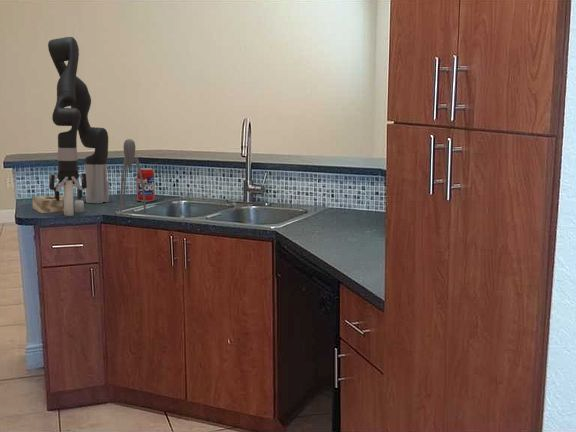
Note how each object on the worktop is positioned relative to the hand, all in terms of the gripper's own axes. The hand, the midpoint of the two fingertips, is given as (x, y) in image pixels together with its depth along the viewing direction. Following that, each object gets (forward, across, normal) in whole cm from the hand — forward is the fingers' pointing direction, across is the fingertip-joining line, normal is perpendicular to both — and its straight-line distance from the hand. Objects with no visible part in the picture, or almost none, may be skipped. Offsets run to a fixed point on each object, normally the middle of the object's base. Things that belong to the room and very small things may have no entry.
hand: (68, 199), depth 284 cm
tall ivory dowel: (+6, 0, 0) cm, 6 cm away
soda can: (+6, -43, -22) cm, 49 cm away
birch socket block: (+6, +2, -15) cm, 16 cm away
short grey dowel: (+6, -6, -6) cm, 11 cm away
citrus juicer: (+6, -24, +2) cm, 25 cm away
